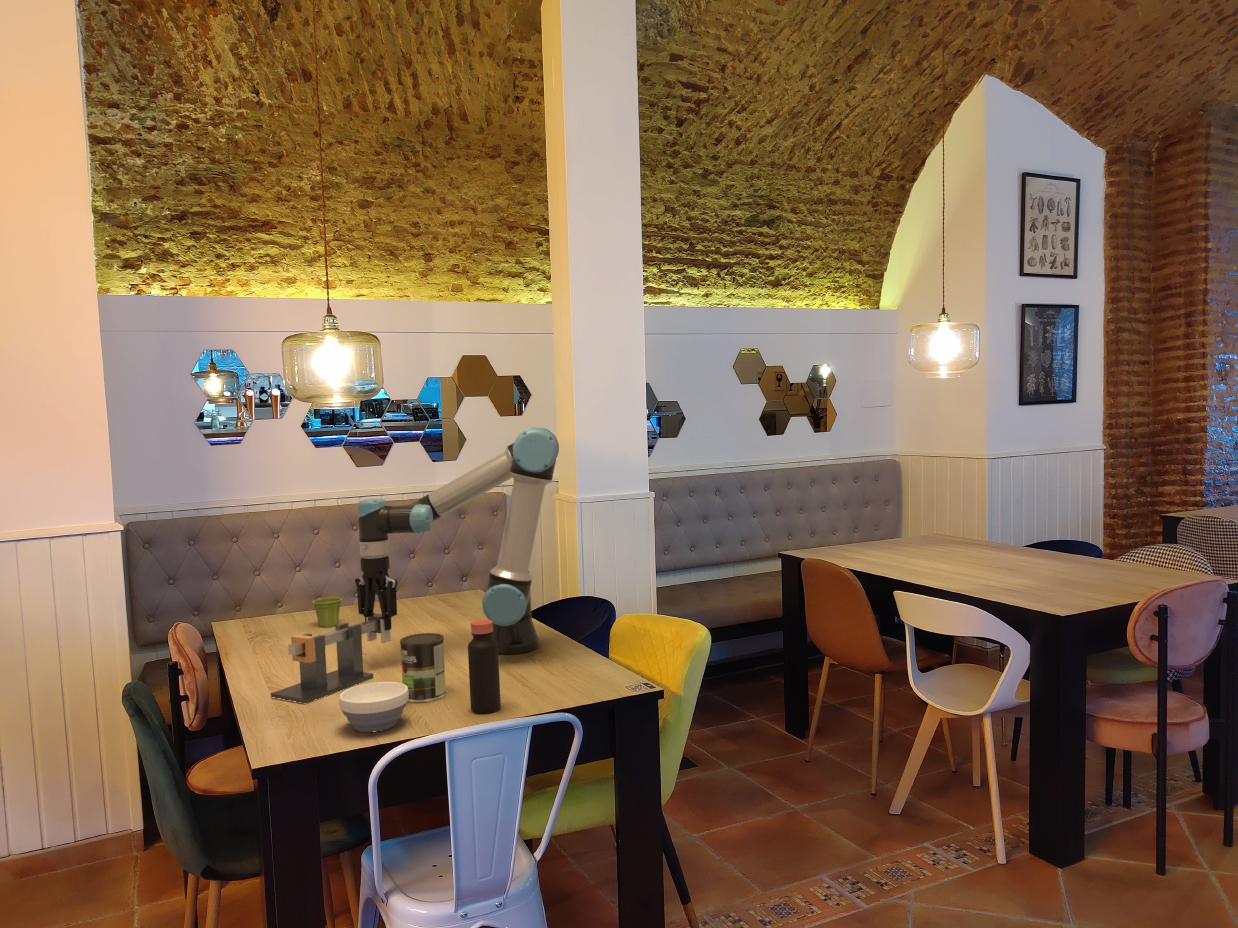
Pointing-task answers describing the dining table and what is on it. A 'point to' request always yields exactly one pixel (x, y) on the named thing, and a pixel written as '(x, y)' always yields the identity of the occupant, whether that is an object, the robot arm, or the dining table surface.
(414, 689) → the coffee can
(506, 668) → the dining table surface
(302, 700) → the stand
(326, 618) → the plant pot
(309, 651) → the collar
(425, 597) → the dining table surface
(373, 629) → the shaft
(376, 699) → the bowl
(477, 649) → the bottle
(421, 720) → the dining table surface
